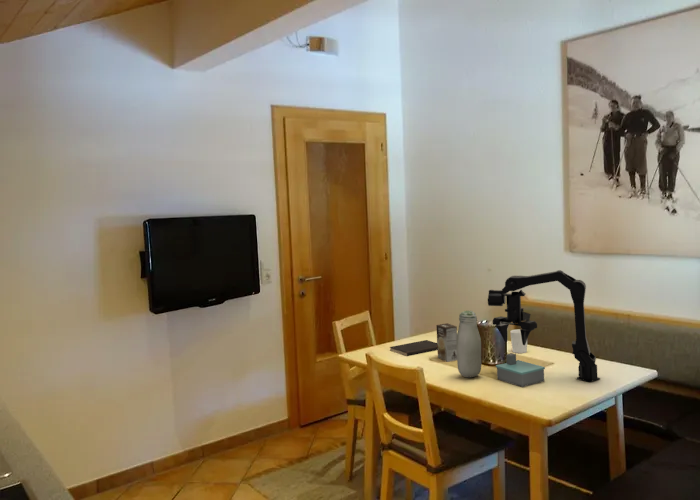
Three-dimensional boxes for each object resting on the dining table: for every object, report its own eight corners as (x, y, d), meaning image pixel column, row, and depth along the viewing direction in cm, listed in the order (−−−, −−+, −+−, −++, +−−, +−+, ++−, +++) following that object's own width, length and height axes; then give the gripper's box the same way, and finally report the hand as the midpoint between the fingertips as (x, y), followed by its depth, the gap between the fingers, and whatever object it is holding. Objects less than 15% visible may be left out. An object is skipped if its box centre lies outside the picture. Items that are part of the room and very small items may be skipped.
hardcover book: (389, 351, 310) (389, 346, 310) (426, 344, 321) (426, 339, 321) (407, 357, 296) (406, 352, 296) (445, 349, 307) (444, 345, 307)
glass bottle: (464, 381, 250) (461, 314, 248) (454, 375, 260) (451, 310, 258) (486, 378, 252) (483, 311, 250) (475, 372, 262) (472, 308, 260)
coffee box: (437, 357, 290) (435, 324, 288) (448, 355, 292) (447, 323, 291) (447, 362, 281) (445, 327, 280) (459, 360, 283) (457, 326, 282)
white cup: (509, 353, 291) (508, 332, 290) (513, 349, 298) (512, 329, 297) (526, 354, 287) (525, 333, 286) (529, 350, 294) (528, 329, 293)
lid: (545, 372, 243) (544, 357, 243) (521, 377, 237) (521, 362, 237) (518, 364, 256) (518, 350, 256) (495, 370, 250) (495, 355, 249)
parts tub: (544, 381, 244) (543, 369, 243) (522, 387, 238) (521, 374, 237) (518, 373, 256) (518, 362, 255) (497, 379, 250) (496, 367, 250)
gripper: (544, 305, 250) (545, 343, 251) (507, 301, 265) (508, 336, 266) (528, 309, 243) (529, 348, 244) (491, 305, 258) (492, 341, 259)
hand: (514, 343), depth 253 cm, fingers open, 9 cm apart
